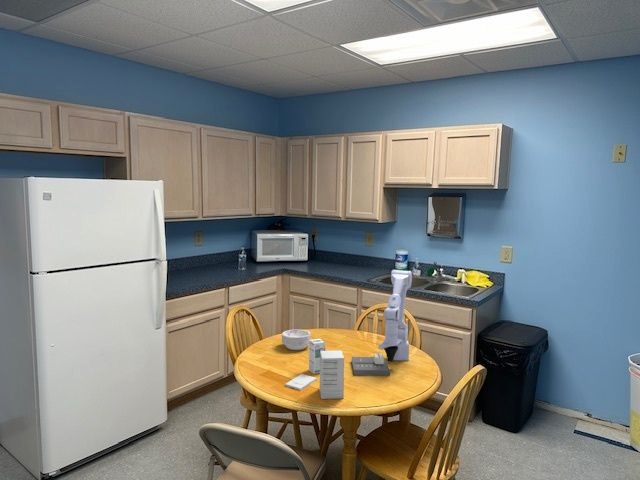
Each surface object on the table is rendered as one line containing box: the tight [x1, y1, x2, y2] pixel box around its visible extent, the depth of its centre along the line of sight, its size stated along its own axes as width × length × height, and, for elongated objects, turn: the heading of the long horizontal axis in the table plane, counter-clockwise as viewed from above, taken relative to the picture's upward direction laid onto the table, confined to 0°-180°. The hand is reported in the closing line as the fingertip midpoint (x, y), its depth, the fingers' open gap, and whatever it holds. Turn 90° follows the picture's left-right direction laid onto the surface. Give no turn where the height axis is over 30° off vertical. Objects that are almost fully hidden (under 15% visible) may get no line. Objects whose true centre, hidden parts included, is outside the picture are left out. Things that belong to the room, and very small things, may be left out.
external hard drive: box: [284, 373, 317, 391], centre depth 191 cm, size 2×8×12 cm
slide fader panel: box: [351, 356, 391, 376], centre depth 208 cm, size 16×16×3 cm
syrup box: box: [308, 338, 326, 375], centre depth 203 cm, size 6×6×14 cm
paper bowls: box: [281, 328, 312, 351], centre depth 234 cm, size 15×15×8 cm
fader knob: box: [373, 353, 385, 364], centre depth 208 cm, size 4×5×4 cm
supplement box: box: [319, 350, 345, 400], centre depth 180 cm, size 10×9×17 cm
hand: (390, 361), depth 208 cm, fingers closed
